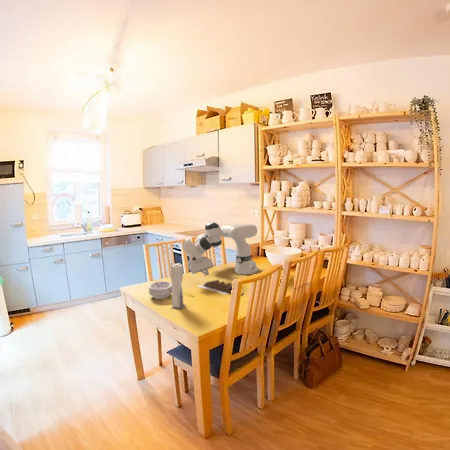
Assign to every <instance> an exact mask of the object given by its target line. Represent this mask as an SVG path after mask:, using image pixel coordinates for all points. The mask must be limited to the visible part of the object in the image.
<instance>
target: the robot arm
mask: <svg viewBox="0 0 450 450" xmlns="http://www.w3.org/2000/svg"><path fill="white" fill-rule="evenodd" d="M204 230H205V233H200V234H199V235H197V237H195V240H194V242H193V241H192V240H191V239H187V240H186V241H184V242H183V244H182V245H181V247H182V249H183V251H184V253H185V255H186V256H188V258H189V260H188V262H187V263H186V266H187V267H188V269H189V270H190V272H191V273H192V274H193V275H194V274H197V273H200V272H201V273H202V275H204V276H206V277H207V276H209V275H210V272H209V269H211V268H213V266H214V263H213V261H212V260H211V259H210V258H209V257H207V256H203V254H205V253H206V252H207V251H208V250H210V249H211V248H217V247H220V246H221V245H222V243H223V241H222V238H227V239H232V240H233V241H234V243H235V245H236V255H235V256H236V257H235V262H234V269H233V271H234V273H235V274H238V275H254V274H255V273H257V272H259V270H260V267H257V262H256V261H255V260H253V259H252V258H254V254H251V245H250V244H249V243H248V242H247V241H246V239H249V238H250V239H251V238H253V237H255V236H257V234H258V227H257V226H256V224H253V223H245V224H241V223H240V224H226V225H225V224H224V225H221V226H220V224H218V223H217V222H214V221H212V222H211V221H210V222H208V223H206V224H205V225H204Z"/></svg>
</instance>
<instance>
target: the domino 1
mask: <svg viewBox="0 0 450 450" xmlns="http://www.w3.org/2000/svg"><path fill="white" fill-rule="evenodd" d="M219 282H220V279H216V280H212V281H207V283H206V282H205V284H204V283H203V284H204V286H209V285H213V284H216V283H219Z"/></svg>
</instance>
